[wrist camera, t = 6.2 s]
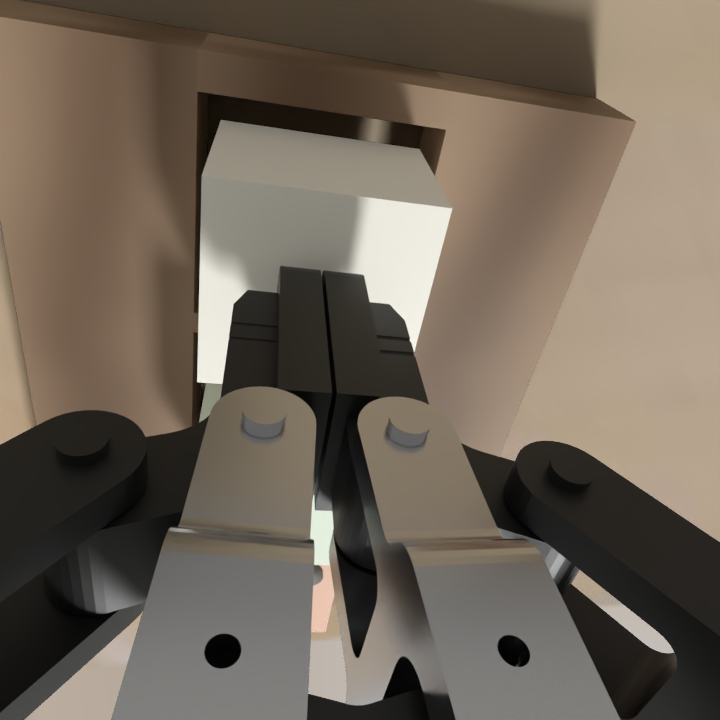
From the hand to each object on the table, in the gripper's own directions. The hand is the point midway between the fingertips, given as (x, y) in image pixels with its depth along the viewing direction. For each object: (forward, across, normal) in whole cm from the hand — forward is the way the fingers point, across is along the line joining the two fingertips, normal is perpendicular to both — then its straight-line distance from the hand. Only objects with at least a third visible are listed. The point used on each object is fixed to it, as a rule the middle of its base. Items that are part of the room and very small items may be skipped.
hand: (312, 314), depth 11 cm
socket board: (+6, 0, +6) cm, 9 cm away
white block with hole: (+4, 0, 0) cm, 4 cm away
